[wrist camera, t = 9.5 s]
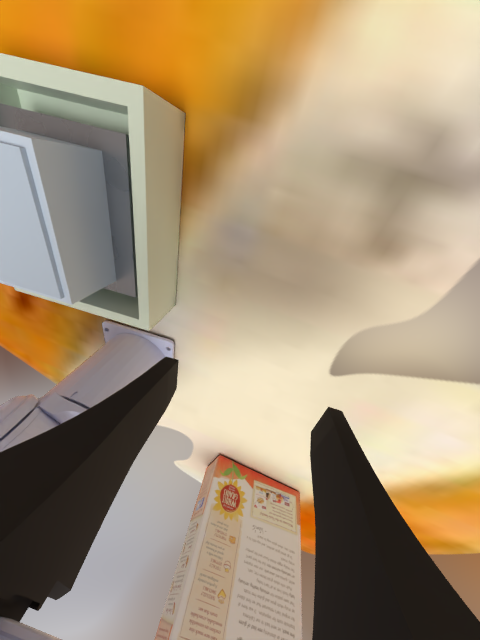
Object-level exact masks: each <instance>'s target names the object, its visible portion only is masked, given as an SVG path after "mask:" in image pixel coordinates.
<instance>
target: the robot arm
mask: <svg viewBox="0 0 480 640" xmlns="http://www.w3.org/2000/svg"><path fill="white" fill-rule="evenodd" d="M102 327H103V333H104V339H105V345H104V346H102V347H101V348H100V349H99V350H98V351H96V352H95V353H94V354H93V355H92V356H90V357H89V358H88V359H87V360H86V361H85V362H83V363H82V364H81V365H80V366H79V367H77V368H76V369H75V370H74V371H73V372H71V373H70V374H69V375H68V376H67V377H66V378H64V379H63V380H62V381H61V382H60V383H58V384H57V385H56V386H55V387H54V388H53V389H51V390H50V391H49V392H48V393H47V394H45V395H44V396H43V397H41V398H36V397H35V396H34V395H27V396H17V397H14V398H12V399H10V400H8V401H7V402H5V403H3V404H2V405H0V640H61V639H59V638H56V637H54V636H52V635H49V634H47V633H44V632H42V631H40V630H37V629H35V628H32V627H30V626H27V625H25V624H23V623H20V620H21V618H22V617H23V615H24V614H25V612H26V610H27V608H28V607H30V608H32V609H35V610H37V611H38V610H39V609H40V608H41V607H42V605H43V603H44V601H45V600H46V598H47V597H50V598H53V599H55V600H57V599H59V598H60V597H62V596H63V595H65V594H66V593H68V592H69V591H70V590H71V588H72V586H73V584H74V582H75V579H76V578H77V575H78V573H79V571H80V569H81V567H82V565H83V562H84V560H85V558H86V556H87V554H88V552H89V550H90V547H91V545H92V543H93V541H94V539H95V537H96V535H97V533H98V531H99V529H100V527H101V525H102V522H103V520H104V518H105V516H106V514H107V512H108V510H109V508H110V506H111V504H112V502H113V500H114V498H115V496H116V494H117V492H118V490H119V489H120V487H121V484H122V483H123V481H124V479H125V477H126V475H127V473H128V471H129V469H130V467H131V465H132V464H133V462H134V460H135V458H136V457H137V455H138V453H139V452H140V450H141V448H142V447H143V445H144V444H145V442H146V441H147V439H148V437H149V436H150V434H151V433H152V431H153V429H154V428H155V426H156V425H157V423H158V422H159V420H160V418H161V417H162V415H163V414H164V412H165V410H166V409H167V407H168V405H169V403H170V401H171V399H172V397H173V395H174V392H175V390H176V388H177V373H178V360H176V359H174V342H173V341H172V340H170V339H167V338H163V337H160V336H157V335H154V334H150V333H147V332H144V331H141V330H137V329H134V328H131V327H127V326H124V325H121V324H118V323H114V322H111V321H108V320H105V321H104V322H103V323H102ZM168 347H169V348H168ZM310 457H311V471H312V484H313V496H314V508H315V526H316V558H315V561H316V562H315V597H314V598H315V599H314V620H313V638H312V640H480V622H479V621H478V619H477V618H476V617H475V615H474V614H473V613H472V612H471V611H470V609H469V608H468V607H467V605H466V604H465V603H464V602H463V600H462V599H461V598H460V597H459V595H458V594H457V592H456V591H455V590H454V589H453V587H452V586H451V585H450V583H449V582H448V581H447V579H445V577H444V575H443V574H442V573H441V571H440V570H439V569H438V567H437V566H436V565H435V563H434V562H433V561H432V559H431V558H430V556H429V555H428V554H427V552H426V551H425V549H424V548H423V547H422V545H421V544H420V542H419V541H418V540H417V538H416V537H415V535H414V534H413V532H412V531H411V529H410V528H409V526H408V525H407V523H406V522H405V520H404V519H403V517H402V516H401V514H400V513H399V511H398V510H397V508H396V507H395V505H394V504H393V502H392V500H391V499H390V497H389V495H388V494H387V492H386V491H385V489H384V487H383V486H382V484H381V482H380V481H379V479H378V477H377V476H376V474H375V472H374V470H373V469H372V467H371V465H370V463H369V461H368V460H367V458H366V456H365V454H364V452H363V450H362V449H361V447H360V445H359V443H358V441H357V439H356V437H355V435H354V433H353V432H352V430H351V428H350V426H349V424H348V422H347V420H346V418H345V416H344V414H343V412H342V411H340V410H337V409H333V408H330V407H328V408H327V410H326V411H325V413H324V414H323V415H322V417H321V418H320V420H319V421H318V423H317V424H316V426H315V427H314V428H313V430H312V431H311V450H310Z"/></svg>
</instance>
